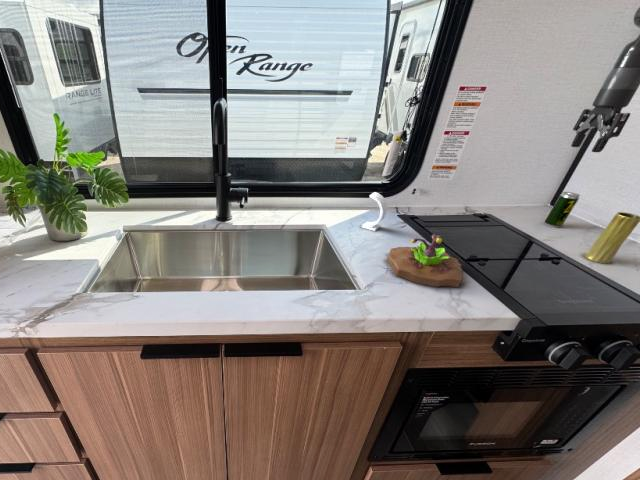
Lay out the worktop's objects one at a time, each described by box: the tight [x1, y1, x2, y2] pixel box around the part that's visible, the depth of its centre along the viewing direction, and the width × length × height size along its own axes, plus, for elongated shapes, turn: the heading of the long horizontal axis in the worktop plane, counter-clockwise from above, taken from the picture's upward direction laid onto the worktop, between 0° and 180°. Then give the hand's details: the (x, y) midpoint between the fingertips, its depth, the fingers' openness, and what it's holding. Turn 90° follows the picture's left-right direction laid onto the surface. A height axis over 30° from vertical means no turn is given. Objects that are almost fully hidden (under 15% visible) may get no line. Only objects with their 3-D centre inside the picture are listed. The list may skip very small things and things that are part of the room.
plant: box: [386, 233, 463, 288], centre depth 91 cm, size 20×20×11 cm
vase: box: [584, 211, 640, 264], centre depth 97 cm, size 6×6×14 cm
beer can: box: [544, 191, 581, 229], centre depth 120 cm, size 5×5×12 cm
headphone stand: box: [361, 191, 388, 232], centre depth 116 cm, size 5×6×12 cm
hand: (584, 149), depth 100 cm, fingers open, 8 cm apart
